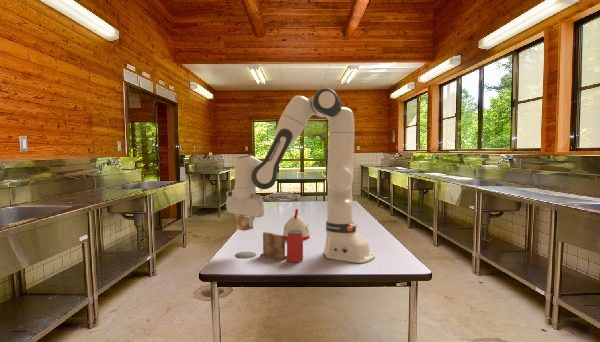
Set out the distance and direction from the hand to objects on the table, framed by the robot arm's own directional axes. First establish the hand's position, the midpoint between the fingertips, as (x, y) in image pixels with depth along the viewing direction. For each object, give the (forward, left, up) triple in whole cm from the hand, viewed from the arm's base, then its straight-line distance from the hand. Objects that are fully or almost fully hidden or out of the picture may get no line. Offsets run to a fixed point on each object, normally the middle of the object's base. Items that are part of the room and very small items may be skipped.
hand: (244, 225), depth 146 cm
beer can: (-22, -8, -13) cm, 26 cm away
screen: (-12, -5, -13) cm, 19 cm away
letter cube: (0, 0, -2) cm, 2 cm away
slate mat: (0, 0, -13) cm, 13 cm away
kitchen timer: (+2, -38, -13) cm, 40 cm away
